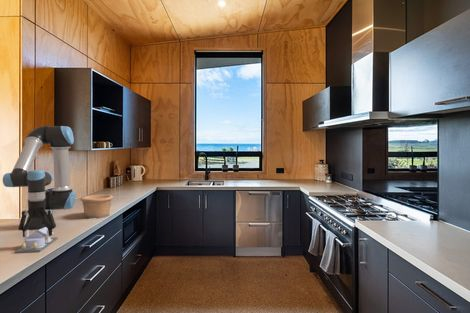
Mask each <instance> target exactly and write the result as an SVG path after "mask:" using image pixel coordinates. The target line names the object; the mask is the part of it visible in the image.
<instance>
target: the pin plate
mask: <svg viewBox="0 0 470 313" xmlns="http://www.w3.org/2000/svg"><path fill="white" fill-rule="evenodd" d="M57 240H59V239H58V237H57V236H56V237H54V236H53V237H51V241H50V242H49V243H47V237H46V243H45V244H44V245H41V246H37V243H33V247H26V244H25V242H24V243H23V242H22V243H21V247H20V248H18V249H16V250H15V251H14V252H15V253H14V254H24V253H26V254H28V253H29V254H30V253H40V252H43V250H45V249H46V248H47V247H49V246H50V245H51V244H53V243H54V242H55V241H57Z"/></svg>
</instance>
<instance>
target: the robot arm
mask: <svg viewBox="0 0 470 313" xmlns="http://www.w3.org/2000/svg"><path fill="white" fill-rule="evenodd" d="M23 142H24V145H23V147H22V150H21V152H20V154H19V155H18V158H17V160H16V162H15V164H14V166H13V168H12V171H10V172H6V173H4V174H3V177H2V183H3V186H4V187H6V188H22V187H23V188H24V187H25V188H26V187H27V209H28V210H22V211H21V218H20V221H19V225H18V231H22V237H23V238H24V239H25V238H27V237H28V236H30V231H29V230H31V231H32V230H40V229H42V228H44V227H46V228H47V229H48V230H47V231H46V232H47V243H49V242H50V241H51V238H52V236H53V234H52V232H53V230H54V229H56V227H57V225H56V221H55V219H54V216H53V215H54V214H53V210H54V211H55V210H56V211H57V210H58V211H59V210H63V211H65V210H71V209H72V208H73V207H74V206H75V202H76V195H77V194H76V191H75V190H73V187H72V186H71V185H70V164H69V163H70V161H69V160H70V159H69V149H71V148H72V145H73V144H74V142H75V138H74V132H73V130H72V128H71V127H69V126H65V125H42V126H41V125H40V126H38V127H36V128H34V129H32V130H31V131H30V132H29V133H28V134H27V135H26V137H25V139H24V140H23ZM43 145H49V148H50V149H51V150H52V152H53V153H52V154H53V156H52V157H53V158H52V159H53V160H52V162H53V174H52V173H50V172H48V171H45V170H43V169H33V170H32V169H31V168H32V166H33V163H34V161H35V158H36V157H37V154H38V152H39V149H40V148H42V147H43ZM53 181H54V183H53ZM52 183H53V185H54V187H52V189H51V191H50V189H46V187H47V186H49V185H51V184H52Z"/></svg>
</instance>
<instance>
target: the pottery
mask: <svg viewBox="0 0 470 313" xmlns="http://www.w3.org/2000/svg"><path fill="white" fill-rule="evenodd" d="M113 199H114V196H113V195H112V194H90V195H85V196H82V197H80V201H81V202H82V208H83V212H84V218H86V219H89V218H96V219H102V218H107V217H109V216H110V213H111V207H112V206H111V205H112V200H113Z"/></svg>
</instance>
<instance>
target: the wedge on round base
mask: <svg viewBox="0 0 470 313" xmlns="http://www.w3.org/2000/svg"><path fill="white" fill-rule="evenodd" d="M47 230H48V229H47V228H46V227H44V228H42V229H36V230H35V231H34V232H32V233H31V234H29V236H28V237H27V238H25V237H24V243H25V244H26V247H33V243H37V246H41V245H44V244H45V243H46V237H47V232H46V231H47ZM53 234H54V232H53V231H52V235H53Z"/></svg>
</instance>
